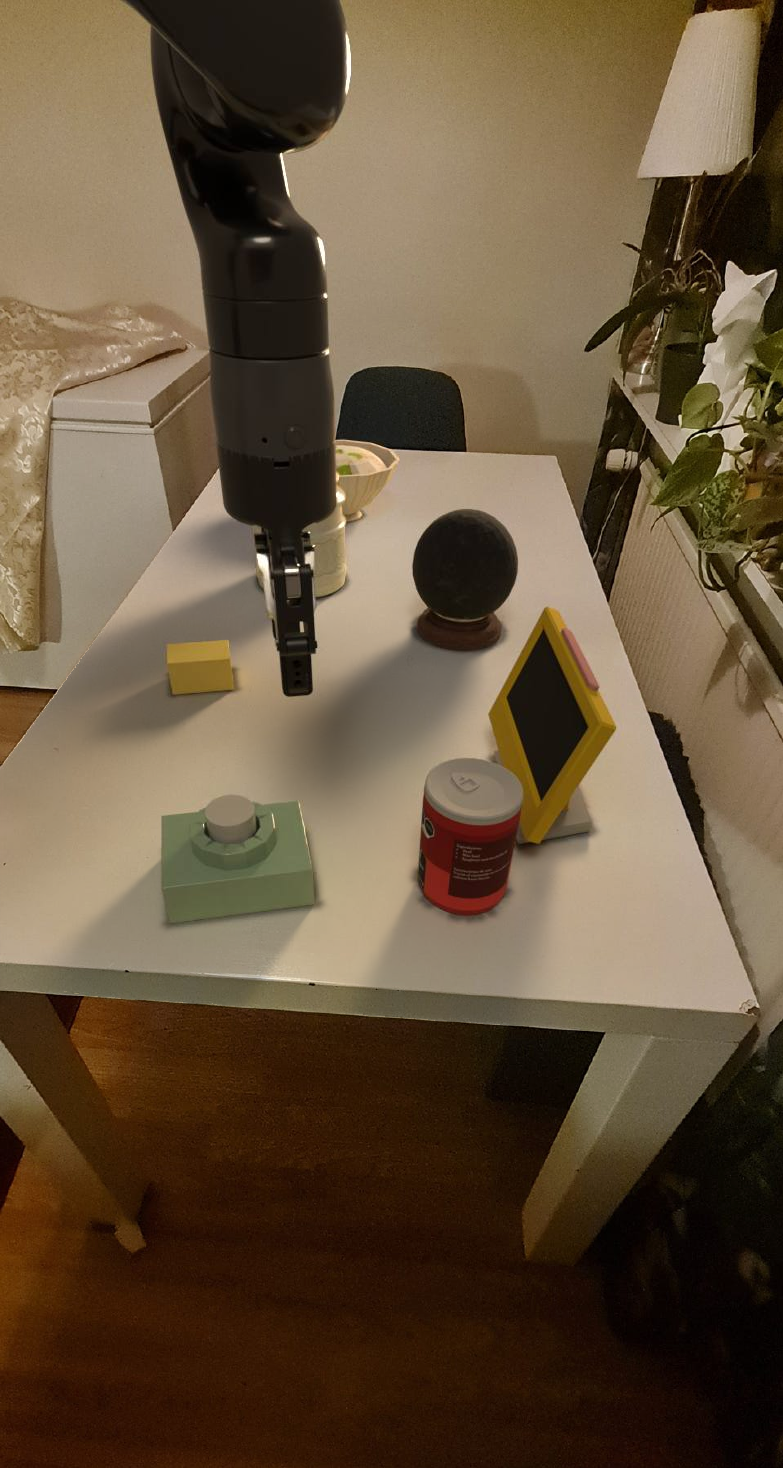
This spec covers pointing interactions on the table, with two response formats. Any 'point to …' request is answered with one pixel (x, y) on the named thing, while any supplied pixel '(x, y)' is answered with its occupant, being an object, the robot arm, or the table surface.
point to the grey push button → (230, 819)
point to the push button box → (235, 865)
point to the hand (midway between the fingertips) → (292, 664)
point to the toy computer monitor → (550, 730)
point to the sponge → (199, 667)
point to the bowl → (362, 473)
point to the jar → (326, 549)
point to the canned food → (468, 834)
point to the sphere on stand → (463, 579)
